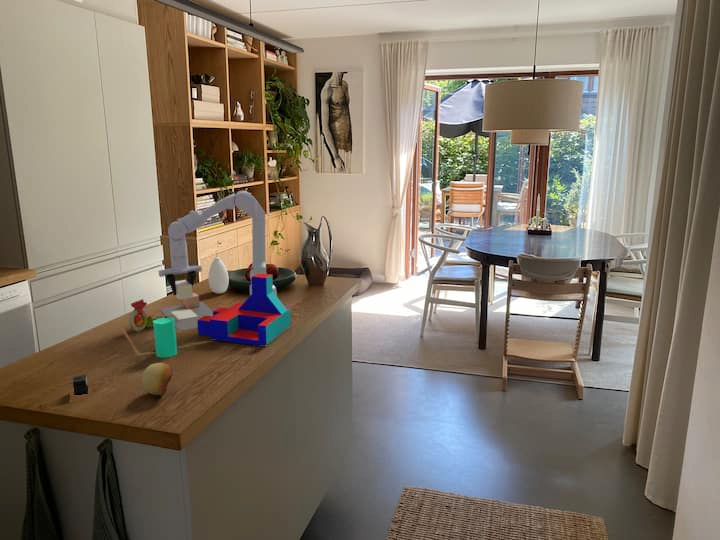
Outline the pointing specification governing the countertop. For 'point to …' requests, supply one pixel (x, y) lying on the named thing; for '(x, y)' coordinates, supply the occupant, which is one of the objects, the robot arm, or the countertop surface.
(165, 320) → the candle
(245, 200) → the robot arm
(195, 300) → the terracotta brick
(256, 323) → the building blocks toy
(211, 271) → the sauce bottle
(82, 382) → the black block
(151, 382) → the fruit
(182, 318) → the baseplate
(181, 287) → the cream brick
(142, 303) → the bird rattle
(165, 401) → the countertop surface
